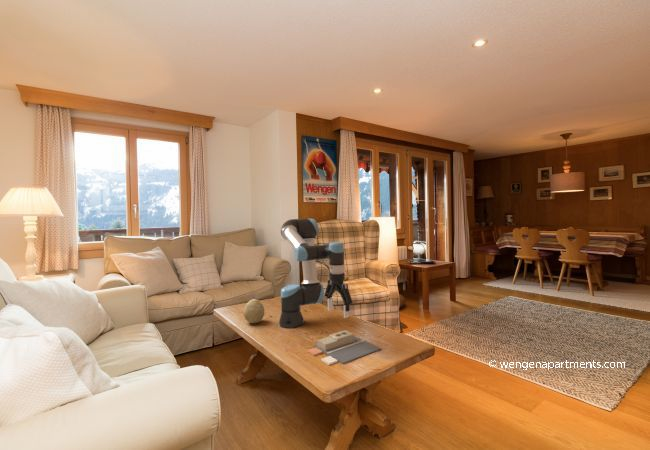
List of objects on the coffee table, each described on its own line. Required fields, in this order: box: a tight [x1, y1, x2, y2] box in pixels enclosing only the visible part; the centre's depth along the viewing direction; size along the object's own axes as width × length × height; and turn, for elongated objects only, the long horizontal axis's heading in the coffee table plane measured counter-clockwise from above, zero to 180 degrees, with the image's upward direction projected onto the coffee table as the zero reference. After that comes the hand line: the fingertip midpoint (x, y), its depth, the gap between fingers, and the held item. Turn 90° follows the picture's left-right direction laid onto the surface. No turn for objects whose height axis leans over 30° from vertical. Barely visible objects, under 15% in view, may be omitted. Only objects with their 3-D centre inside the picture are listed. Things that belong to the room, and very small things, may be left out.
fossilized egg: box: [243, 298, 265, 324], centre depth 200 cm, size 13×13×15 cm
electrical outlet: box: [316, 329, 355, 351], centre depth 163 cm, size 7×4×18 cm
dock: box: [307, 335, 382, 366], centre depth 157 cm, size 24×30×1 cm
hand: (338, 313), depth 163 cm, fingers open, 13 cm apart
